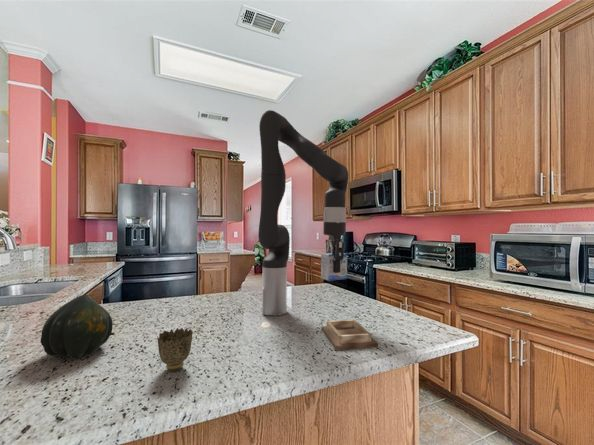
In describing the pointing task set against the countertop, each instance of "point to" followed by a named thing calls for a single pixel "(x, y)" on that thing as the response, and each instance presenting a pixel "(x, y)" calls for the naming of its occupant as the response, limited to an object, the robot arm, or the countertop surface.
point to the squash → (76, 328)
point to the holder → (348, 335)
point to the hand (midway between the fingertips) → (334, 270)
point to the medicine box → (328, 268)
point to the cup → (174, 347)
